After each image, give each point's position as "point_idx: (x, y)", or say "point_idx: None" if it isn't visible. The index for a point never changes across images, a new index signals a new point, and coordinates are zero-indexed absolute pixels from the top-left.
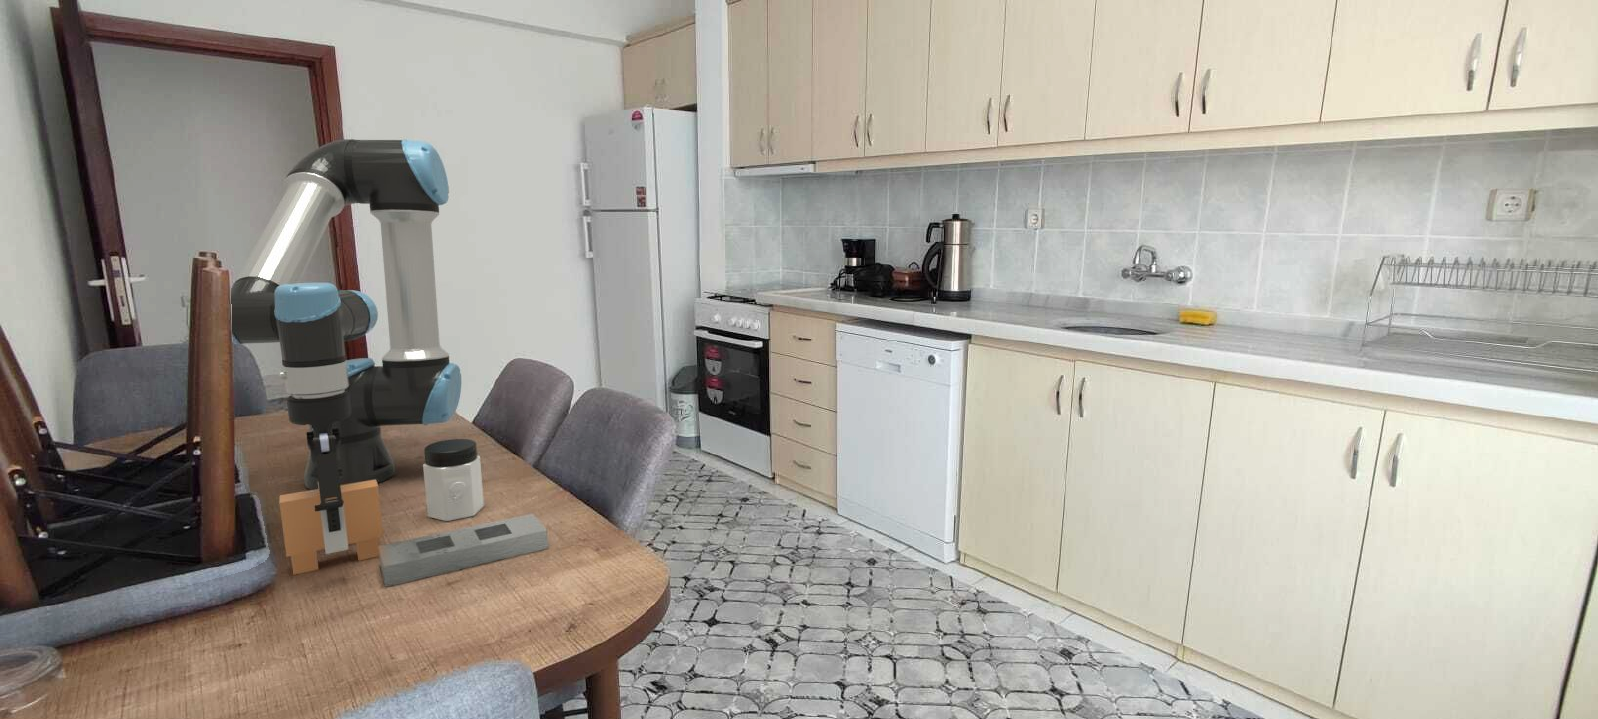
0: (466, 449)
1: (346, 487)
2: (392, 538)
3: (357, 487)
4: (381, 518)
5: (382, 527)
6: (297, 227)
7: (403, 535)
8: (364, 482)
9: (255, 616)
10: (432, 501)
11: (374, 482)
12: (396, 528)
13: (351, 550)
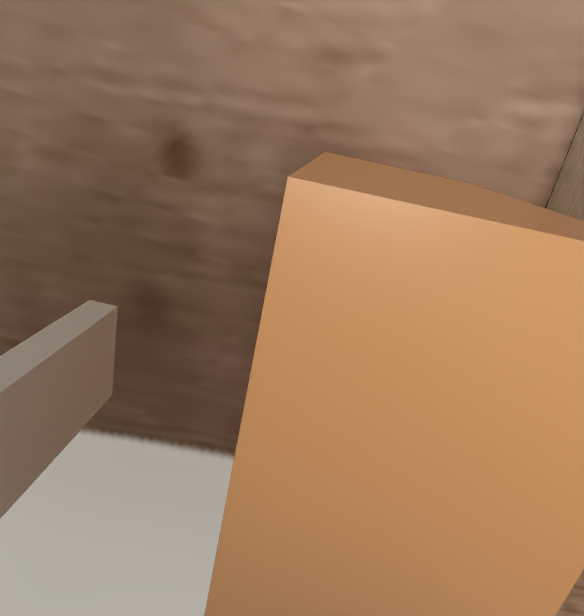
0: None
1: (363, 588)
2: (241, 72)
3: (494, 512)
4: (511, 197)
5: (485, 188)
6: None
7: (239, 7)
8: (322, 373)
9: (575, 606)
10: None
11: (466, 257)
12: (107, 5)
13: (256, 267)
